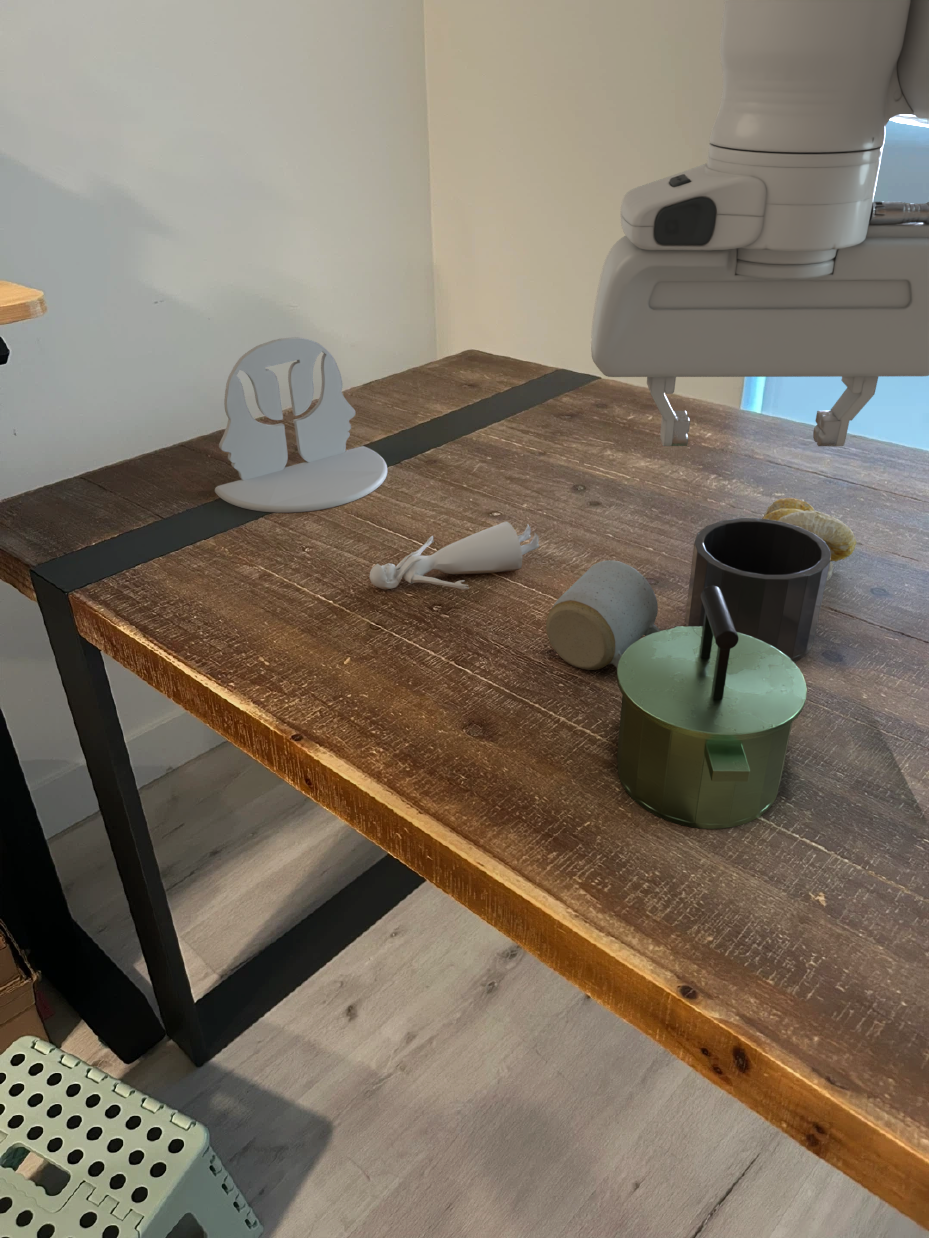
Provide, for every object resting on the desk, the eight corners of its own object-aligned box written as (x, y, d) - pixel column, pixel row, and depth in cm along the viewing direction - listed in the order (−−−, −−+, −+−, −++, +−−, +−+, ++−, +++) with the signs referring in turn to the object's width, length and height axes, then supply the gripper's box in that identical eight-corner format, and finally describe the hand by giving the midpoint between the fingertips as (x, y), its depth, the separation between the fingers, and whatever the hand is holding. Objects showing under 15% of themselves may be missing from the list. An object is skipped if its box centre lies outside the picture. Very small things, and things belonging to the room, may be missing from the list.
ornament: (365, 448, 131) (356, 323, 122) (421, 480, 122) (414, 347, 113) (212, 491, 120) (189, 357, 111) (260, 529, 111) (240, 386, 102)
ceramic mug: (538, 660, 88) (541, 586, 84) (582, 619, 93) (587, 548, 89) (645, 700, 83) (654, 624, 79) (685, 655, 88) (696, 582, 84)
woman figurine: (556, 544, 97) (382, 587, 93) (557, 582, 99) (387, 626, 95) (512, 497, 106) (352, 535, 102) (514, 533, 109) (358, 571, 105)
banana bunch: (760, 534, 95) (771, 467, 107) (742, 584, 99) (755, 514, 110) (864, 561, 93) (864, 490, 105) (842, 611, 97) (845, 537, 108)
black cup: (795, 600, 96) (811, 517, 91) (828, 668, 86) (847, 579, 81) (676, 600, 96) (685, 517, 92) (695, 667, 87) (707, 579, 82)
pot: (752, 705, 82) (766, 619, 77) (805, 858, 67) (827, 763, 63) (607, 703, 82) (614, 618, 78) (629, 855, 68) (639, 761, 63)
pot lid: (779, 640, 76) (794, 561, 72) (826, 749, 65) (846, 662, 61) (608, 638, 76) (614, 560, 73) (625, 747, 65) (633, 661, 61)
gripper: (958, 191, 55) (904, 425, 63) (595, 195, 56) (583, 424, 63) (1006, 211, 50) (940, 463, 57) (604, 215, 51) (590, 463, 58)
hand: (750, 443), depth 60 cm, fingers open, 8 cm apart
